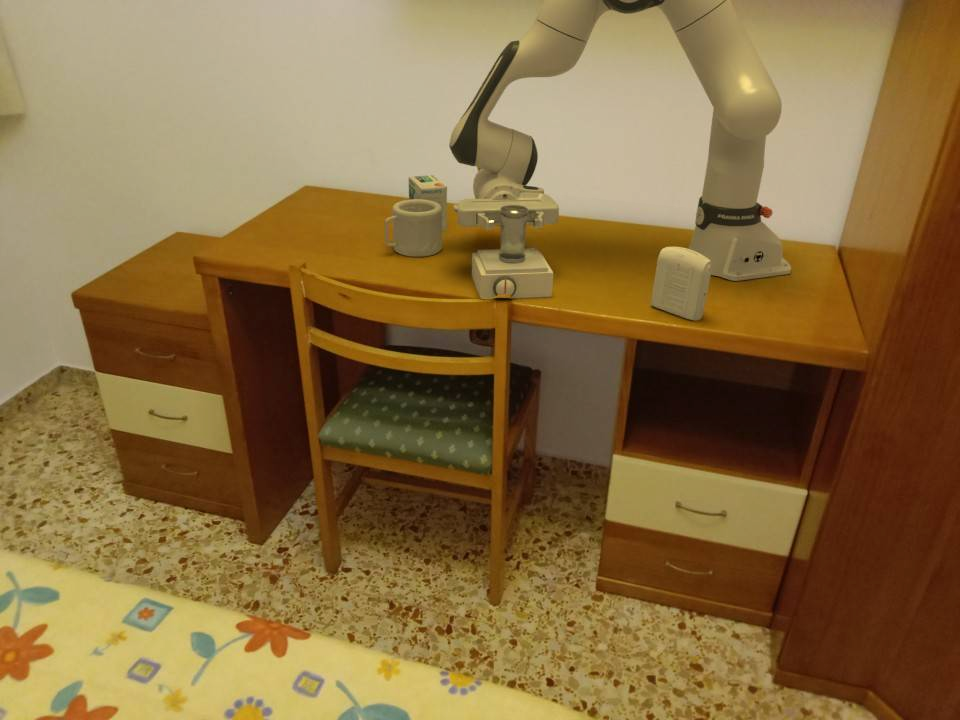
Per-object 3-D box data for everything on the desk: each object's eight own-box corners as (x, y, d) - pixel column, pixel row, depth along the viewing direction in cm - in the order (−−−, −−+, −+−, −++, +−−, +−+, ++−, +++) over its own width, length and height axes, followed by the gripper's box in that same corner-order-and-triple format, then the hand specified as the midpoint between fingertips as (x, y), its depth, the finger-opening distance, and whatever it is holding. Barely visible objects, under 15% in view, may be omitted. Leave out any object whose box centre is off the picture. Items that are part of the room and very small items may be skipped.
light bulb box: (408, 219, 185) (407, 176, 180) (434, 217, 188) (434, 174, 182) (420, 233, 177) (420, 188, 172) (447, 230, 179) (448, 186, 174)
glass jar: (522, 253, 150) (524, 204, 145) (527, 262, 146) (530, 213, 141) (496, 254, 149) (498, 205, 145) (501, 263, 145) (503, 213, 140)
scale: (538, 273, 157) (539, 246, 154) (553, 298, 145) (555, 270, 142) (471, 275, 154) (472, 249, 152) (481, 301, 143) (482, 273, 140)
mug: (425, 237, 174) (424, 195, 169) (451, 251, 167) (451, 207, 162) (373, 248, 167) (371, 205, 162) (398, 264, 159) (397, 218, 155)
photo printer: (706, 316, 140) (718, 254, 134) (695, 323, 137) (706, 260, 131) (658, 300, 146) (667, 239, 140) (646, 306, 143) (655, 245, 137)
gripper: (451, 189, 152) (460, 210, 140) (550, 187, 155) (566, 207, 143) (451, 219, 155) (460, 242, 143) (547, 216, 158) (564, 239, 146)
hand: (514, 225), depth 143 cm, fingers open, 8 cm apart
